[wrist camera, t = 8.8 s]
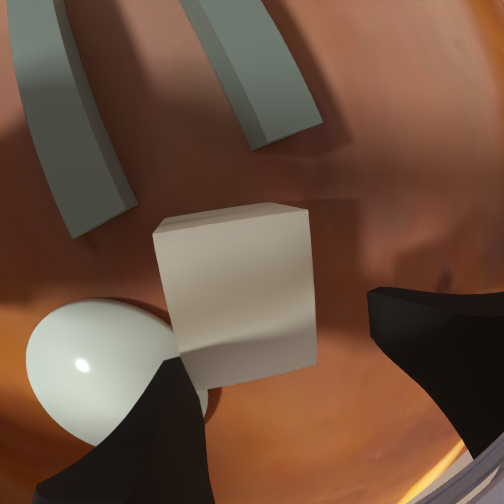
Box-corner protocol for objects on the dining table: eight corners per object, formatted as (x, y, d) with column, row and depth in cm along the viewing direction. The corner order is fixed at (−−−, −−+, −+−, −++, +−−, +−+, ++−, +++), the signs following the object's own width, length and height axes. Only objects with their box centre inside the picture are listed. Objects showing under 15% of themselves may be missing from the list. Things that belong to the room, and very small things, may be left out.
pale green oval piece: (200, 451, 17) (201, 459, 16) (50, 429, 14) (47, 436, 14) (216, 310, 15) (218, 317, 14) (20, 284, 12) (13, 289, 12)
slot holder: (297, 133, 14) (323, 122, 11) (94, 228, 13) (72, 239, 10) (196, -53, 10) (200, -84, 7) (26, 20, 9) (6, -2, 6)
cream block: (280, 314, 16) (317, 363, 11) (187, 332, 15) (191, 392, 10) (268, 201, 14) (308, 209, 10) (164, 218, 14) (152, 234, 9)
